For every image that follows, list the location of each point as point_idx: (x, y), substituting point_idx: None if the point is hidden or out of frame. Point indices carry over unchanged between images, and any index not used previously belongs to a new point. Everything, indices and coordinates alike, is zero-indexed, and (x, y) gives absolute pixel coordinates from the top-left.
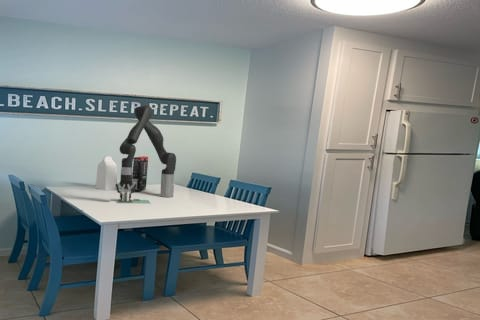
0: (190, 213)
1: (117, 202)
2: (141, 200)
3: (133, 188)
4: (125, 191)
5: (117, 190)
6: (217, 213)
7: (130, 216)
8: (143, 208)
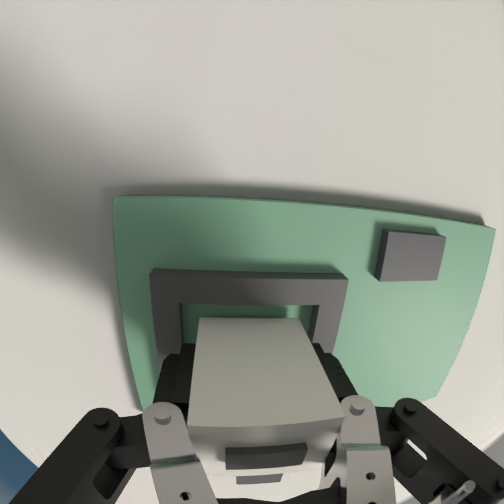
0: None
1: (150, 400)
2: (448, 261)
3: (411, 493)
4: (258, 469)
5: (98, 477)
6: (491, 440)
7: None
8: None
